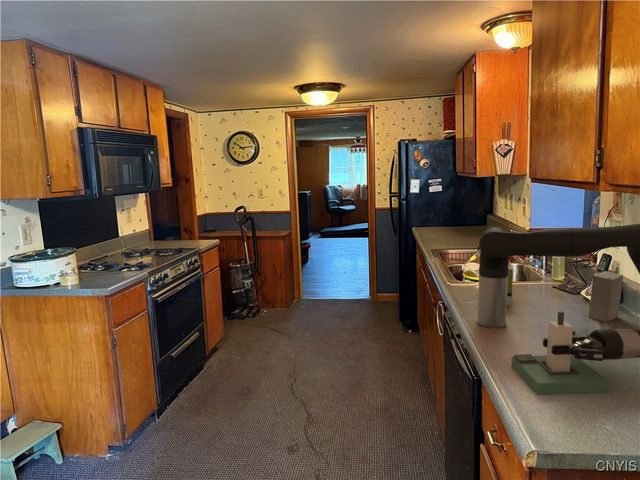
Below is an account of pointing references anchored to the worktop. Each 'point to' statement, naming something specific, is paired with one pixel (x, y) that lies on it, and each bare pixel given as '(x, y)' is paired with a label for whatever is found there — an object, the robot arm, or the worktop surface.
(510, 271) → the tea box
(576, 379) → the green square socket base
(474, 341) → the worktop surface
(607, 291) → the skincare box
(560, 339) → the plug
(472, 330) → the worktop surface
